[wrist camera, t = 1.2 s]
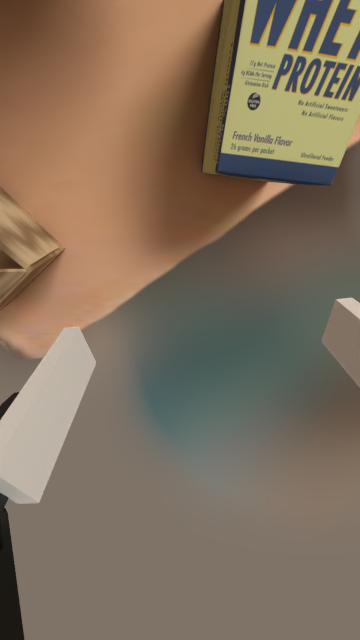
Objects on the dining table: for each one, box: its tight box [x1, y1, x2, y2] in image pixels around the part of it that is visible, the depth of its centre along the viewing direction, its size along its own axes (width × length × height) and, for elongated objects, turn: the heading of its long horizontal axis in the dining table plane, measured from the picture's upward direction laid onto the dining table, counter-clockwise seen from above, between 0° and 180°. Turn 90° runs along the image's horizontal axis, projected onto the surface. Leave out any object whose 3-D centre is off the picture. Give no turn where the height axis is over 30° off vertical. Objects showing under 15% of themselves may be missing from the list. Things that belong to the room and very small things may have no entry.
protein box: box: [201, 0, 360, 185], centre depth 21 cm, size 10×16×16 cm
